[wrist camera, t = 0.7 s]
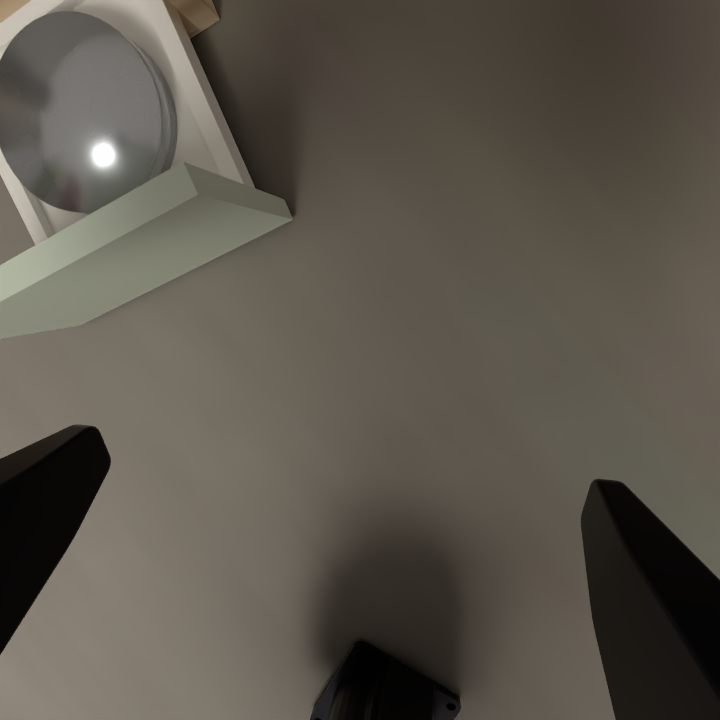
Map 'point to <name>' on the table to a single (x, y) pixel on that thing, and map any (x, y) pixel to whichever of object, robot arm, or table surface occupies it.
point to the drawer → (134, 194)
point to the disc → (83, 112)
